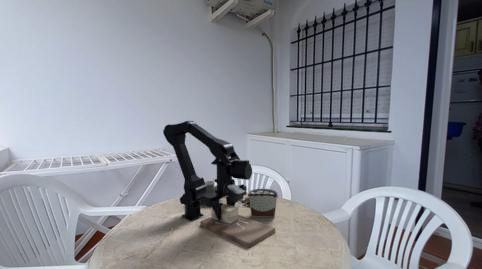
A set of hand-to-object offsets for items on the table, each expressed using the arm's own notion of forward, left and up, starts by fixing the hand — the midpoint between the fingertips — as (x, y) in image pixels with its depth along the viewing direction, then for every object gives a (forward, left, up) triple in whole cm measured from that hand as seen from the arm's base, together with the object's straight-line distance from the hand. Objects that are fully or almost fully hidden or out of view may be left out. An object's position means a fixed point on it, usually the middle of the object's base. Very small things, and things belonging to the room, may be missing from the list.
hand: (224, 217), depth 91 cm
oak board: (+6, 0, -2) cm, 6 cm away
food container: (+5, +17, -3) cm, 18 cm away
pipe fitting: (-23, +11, -3) cm, 26 cm away
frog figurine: (-8, +23, -3) cm, 24 cm away
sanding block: (0, 0, -1) cm, 1 cm away
